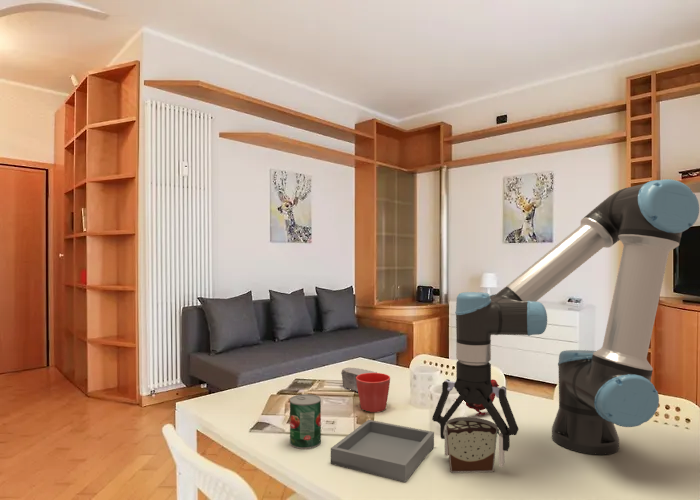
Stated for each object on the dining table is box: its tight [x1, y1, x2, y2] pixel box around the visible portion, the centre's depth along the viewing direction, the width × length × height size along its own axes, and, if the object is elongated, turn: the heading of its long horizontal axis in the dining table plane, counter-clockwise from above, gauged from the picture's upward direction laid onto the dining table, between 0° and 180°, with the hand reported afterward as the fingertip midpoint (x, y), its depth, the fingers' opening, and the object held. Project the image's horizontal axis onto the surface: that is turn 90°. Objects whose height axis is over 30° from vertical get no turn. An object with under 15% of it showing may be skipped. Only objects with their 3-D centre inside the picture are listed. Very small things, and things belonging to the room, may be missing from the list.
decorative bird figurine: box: [465, 378, 500, 416], centre depth 132 cm, size 3×18×10 cm, turn 115°
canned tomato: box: [289, 393, 322, 450], centre depth 114 cm, size 8×8×11 cm
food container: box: [443, 416, 501, 474], centre depth 101 cm, size 12×6×10 cm, turn 92°
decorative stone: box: [340, 367, 378, 393], centre depth 158 cm, size 15×7×10 cm
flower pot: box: [356, 372, 391, 413], centre depth 139 cm, size 11×11×10 cm
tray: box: [330, 419, 435, 483], centre depth 107 cm, size 18×20×4 cm
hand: (474, 458), depth 101 cm, fingers closed on food container, 11 cm apart
